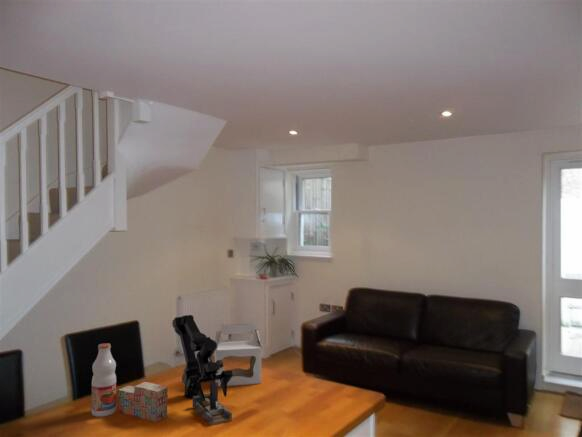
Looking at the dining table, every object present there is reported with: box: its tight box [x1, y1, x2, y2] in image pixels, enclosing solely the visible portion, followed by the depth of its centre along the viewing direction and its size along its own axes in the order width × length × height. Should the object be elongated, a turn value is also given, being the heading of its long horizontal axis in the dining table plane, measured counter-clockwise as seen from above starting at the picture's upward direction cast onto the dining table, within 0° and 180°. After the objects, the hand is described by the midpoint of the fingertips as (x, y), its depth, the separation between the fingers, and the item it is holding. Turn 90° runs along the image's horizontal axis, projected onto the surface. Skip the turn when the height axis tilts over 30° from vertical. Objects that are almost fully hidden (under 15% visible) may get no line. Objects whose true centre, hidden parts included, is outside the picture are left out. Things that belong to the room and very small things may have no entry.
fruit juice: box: [90, 342, 117, 418], centre depth 193 cm, size 9×9×28 cm
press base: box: [192, 392, 233, 426], centre depth 192 cm, size 21×9×4 cm, turn 31°
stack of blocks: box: [117, 381, 169, 423], centre depth 192 cm, size 21×6×12 cm, turn 63°
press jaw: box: [205, 379, 223, 416], centre depth 190 cm, size 5×6×13 cm
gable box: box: [214, 323, 262, 387], centre depth 233 cm, size 22×13×28 cm, turn 103°
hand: (215, 398), depth 189 cm, fingers open, 9 cm apart
